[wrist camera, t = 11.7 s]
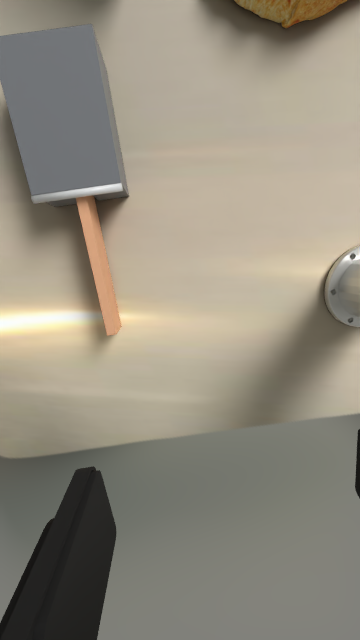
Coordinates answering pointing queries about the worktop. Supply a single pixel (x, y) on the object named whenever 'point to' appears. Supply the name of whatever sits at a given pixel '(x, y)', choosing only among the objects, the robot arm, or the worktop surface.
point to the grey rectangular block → (62, 114)
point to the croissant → (289, 9)
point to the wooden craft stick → (99, 263)
